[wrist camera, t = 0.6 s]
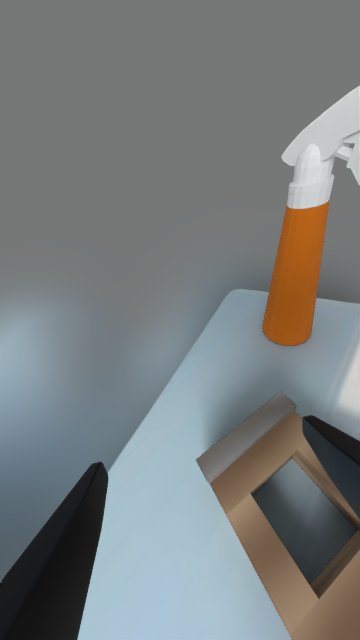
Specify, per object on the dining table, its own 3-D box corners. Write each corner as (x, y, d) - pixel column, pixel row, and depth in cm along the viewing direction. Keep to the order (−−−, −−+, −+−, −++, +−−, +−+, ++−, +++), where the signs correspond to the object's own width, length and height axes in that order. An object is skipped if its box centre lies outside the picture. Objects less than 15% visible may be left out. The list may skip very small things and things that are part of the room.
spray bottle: (306, 372, 25) (420, 54, 8) (253, 326, 33) (254, 117, 16) (347, 349, 26) (528, 16, 9) (286, 309, 34) (320, 93, 17)
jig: (449, 579, 13) (515, 598, 10) (347, 734, 11) (389, 828, 7) (276, 409, 23) (280, 391, 20) (204, 469, 21) (195, 459, 17)
